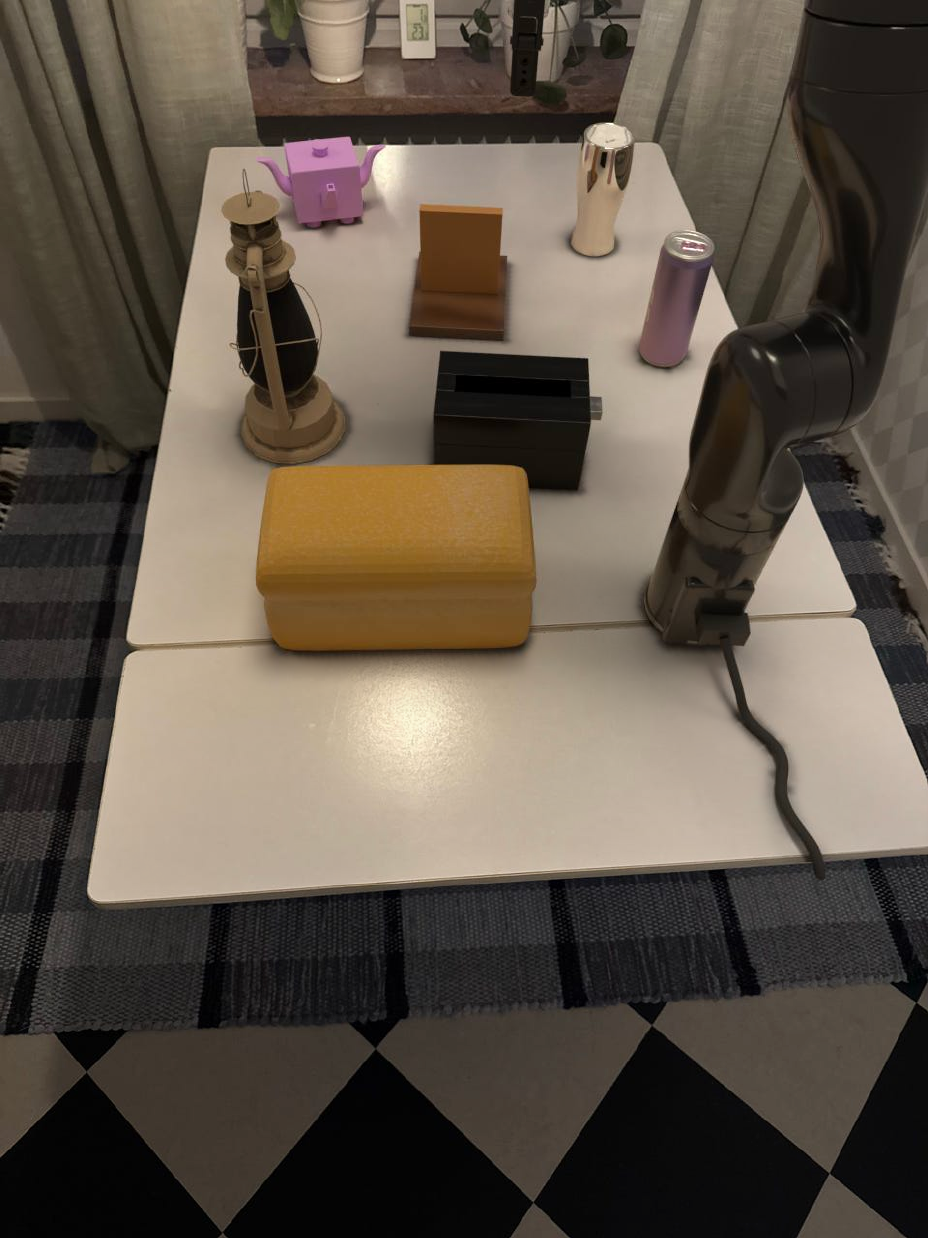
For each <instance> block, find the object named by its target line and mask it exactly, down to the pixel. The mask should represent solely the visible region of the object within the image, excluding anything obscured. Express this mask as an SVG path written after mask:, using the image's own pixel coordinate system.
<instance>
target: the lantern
mask: <svg viewBox="0 0 928 1238" xmlns="http://www.w3.org/2000/svg"><path fill="white" fill-rule="evenodd" d="M241 173H242V184H243V189H244V192H241V193H238V194H235V195H232V196H231V197H229V198H227V199H226V200H225V201H224V202H223V204H222V205H221V209H220V211H221V214H222V216H223V218H225V219H226V220H228V221H229V224H230V227H229V231H230V242H231V243H232V247H231V248H230V249H229V250H227V252H226V255H225V257H224V262H225V266H226V268H227V269H228V271H229V272H230V274H233V275H235V276H236V277H237V278H238V283H239V286H238V295H237V313H236V315H237V317H236V319H237V320H236V335H235V337H236V339H235V343H234V342H230V343H229V347H230V348H231V349H233V350H236V351H237V354H238V358H239V362H238V369H239V370H241V372H242V376H243V377H245V378H247V377H248V378H249V379H250V380H251V381H252V382H253V384H252V385H251V386H250V388H249V389H248V392H247V393H246V395H245V397H244V398H245V399H244V401H245V402H244V410H245V414H246V415H245V416H244V418H243V419H242V423H241V433H240V434H241V437H242V439H243V441H244V444H245V446H246V448H247V449H249V451H251V453H253V454H254V455H255V456H256V457H258V458H259V459H263V460H266V461H268V462H270V463H273V464H282V465H283V464H286V465H297V464H302V463H308V462H313V461H314V460H316V459H319V458H321V457H323V456H325V455H328V454H329V453H330V452H331V451H332V450H333V449H334V448H336V446H337V445H339V444H340V442H341V440H342V438H343V436H344V434H345V432H346V416H345V414H344V412H343V411H342V409H341V407H340V405H339V404H338V403H336V401H334V399H333V392H332V390H331V389H330V387H329V385H328V384H327V382H325V380H323V379H322V378H320V377H319V376H318V375H316V374H315V372H316V371H317V366H318V361H319V356H320V351H321V347H322V346H321V345H322V338H323V327H322V321H321V318H320V313H319V311H318V308H317V306H316V303H315V302H314V299H313V298H312V296H311V294H310V293H309V291H308V290H307V289H306V288H305V286H303V285H301V284H299V283H297V282H294V281H293V280H292V278H291V274H290V273H291V272H290V270H291V268H292V267H293V266H294V265H295V262H296V259H297V256H296V252H295V249H294V248H293V246H292V244H290V243H288V242H287V241H285V240H283V239H282V236H283V234H282V230H281V229H280V224H279V221H278V219H277V215H278V213H279V211H280V207H281V205H280V204H281V203H280V202H279V200H278V199H277V198H276V197H274V196H273V195H271V194H269V193H266V192H263V191H262V190H260V189H256V190H253V191H250V187H249V182H248V175H247V171H246V169H245V168H242V171H241ZM245 182H246V183H245ZM246 186H247V187H246ZM246 188H247V190H246ZM296 286H298V287H300V288H301V289H303V290H304V292H305V293H306V295H307V296H308V297H309V299H310V300H311V302H312V304H313V307H314V309H315V312H316V314H317V318H318V322H319V328H320V336H319V337H320V338H318V337H316V333H315V329H314V327H313V324H312V321H311V318H310V315H309V314H308V311H307V309H306V307H305V304H304V302H303V300H302V298H301V295H300V293H299V291H298V289H297V287H296ZM232 345H233V346H232ZM234 346H236V347H234ZM241 365H242V366H241Z"/></svg>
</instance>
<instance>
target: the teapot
mask: <svg viewBox="0 0 928 1238" xmlns="http://www.w3.org/2000/svg"><path fill="white" fill-rule="evenodd" d="M283 146H284V147H283V148H284V153H285V161H286V166H287V172H288V173H287V174H288V175H285V174H284V173H283V172H282V171H281V169H280V168H279V165H278V164H277V162H276V161H275V160H274V159H272V158H270V157H267V156H266V157H265V156H263V157H262V156H261V157H256V158H255V159H254V161H256V162H257V163H259V164H263V165H264V166H265V167H267V168H268V170H269V171H270V173H271V175H272V176H273V179H274V181H275V183H276V186H277V187H278V188H279V189H280V191H281V192H282V193H283V194H284V195H286V196H287V197H291V198H292V201H293V206H294V209H295V214H296V218H297V222H298V224H306V225H307V226H308V227H309V228H312V229H313V228H319V227H320V226H321V225H322V222H323V221H324V222H325V221H332V220H340V222H341V223H342V224H345V225H346V224H347V225H348V224H352V223H353V222H354V221H355V218H358V217H364V216H365V214H364V204H363V203H364V202H363V201H364V200H363V189H364V188H365V187H366V186H367V184H368V183H369V181H370V178H371V177H372V176H371V175H372V170H373V165H374V161H375V159H376V156H377V155H378V154H379V152H381V151H382V150H384V149H385V148H386V145H385V144H377V145H373V146H371V147H370V148H369V149H368V150H367V152H366V154H365V157H364V161H363V163H362V164H361V165H360V164H359V161H358V157H357V154H356V151H355V148H354V145H353V141H352V140H351V137H350V136H341V137H331V138H323V139H319V138H316V139H312V140H304V141H293V142H285V143H284V144H283Z"/></svg>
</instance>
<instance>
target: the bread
mask: <svg viewBox="0 0 928 1238" xmlns="http://www.w3.org/2000/svg"><path fill="white" fill-rule="evenodd" d="M264 494H265V495H264V499H263V500H264V501H263V507H262V514H261V518H260V519H261V520H260V529H259V536H258V544H257V545H258V546H257V555H256V564H255V586H256V588H257V592H259V594H260V595H261V596H262V597H263V607H264V613H265V618H266V622H267V625H268V629H269V631H270V635H271V637H272V638H273V640H274V641H275V642H276V644H277V645H278V646H279V647H280V648H282V649H283V650H284V649H285V650H290V651H307V652H312V651H314V652H319V651H321V652H322V651H324V652H325V651H382V650H383V651H386V650H388V651H389V650H398V651H399V650H456V649H458V650H459V649H460V650H461V649H463V650H465V649H470V650H471V649H503V648H512V647H518V646H520V645H522V644H523V643H524V642H525V640H526V639H527V638H528V635H529V634H530V629H531V624H532V619H533V618H532V616H533V592H535V589H536V588H537V581H538V580H537V567H536V565H537V564H536V554H535V553H536V552H535V551H536V550H535V540H534V539H535V538H534V527H533V517H532V506H531V498H530V488H529V487H528V479H527V474H526V472H525V471H524V469H523V468H520V467H517V466H511V465H434V464H396V465H395V464H385V465H384V464H383V465H382V464H380V465H379V464H378V465H376V464H375V465H373V464H372V465H369V464H368V465H367V464H366V465H364V464H363V465H362V464H361V465H355V464H354V465H294V466H280V467H278V468H274V469H272V470H271V471H270V473H269V475H268V479H267V483H266V487H265V493H264Z"/></svg>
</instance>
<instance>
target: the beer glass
mask: <svg viewBox="0 0 928 1238" xmlns="http://www.w3.org/2000/svg"><path fill="white" fill-rule="evenodd" d="M635 143H636V134H635V133H634V131H633V130H632V129H630V128H629V127H628V126H625V125H623V124H620V123H615V122H598V123H594V124H591V125H589V126H588V127H587V128H585V129H584V132H583V138H582V141H581V147H580V151H579V156H578V163H577V172H576V200H577V203H576V204H577V217H576V224H575V227H574V230H573V233H572V235H571V240H570V244H571V247H572V248H573V250H574V251H576V252H577V253H579V254H581V255H583V256H587V257H603V256H605V255H608V254H610V253H611V252H612V251H613V249H614V247H615V226H616V220H617V218H618V214H619V211H620V209H621V205H622V203H623V201H624V198H625V195H626V192H627V189H628V186H629V183H630V178H631V173H632V169H633V161H634V153H635V152H634V151H635Z"/></svg>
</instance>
